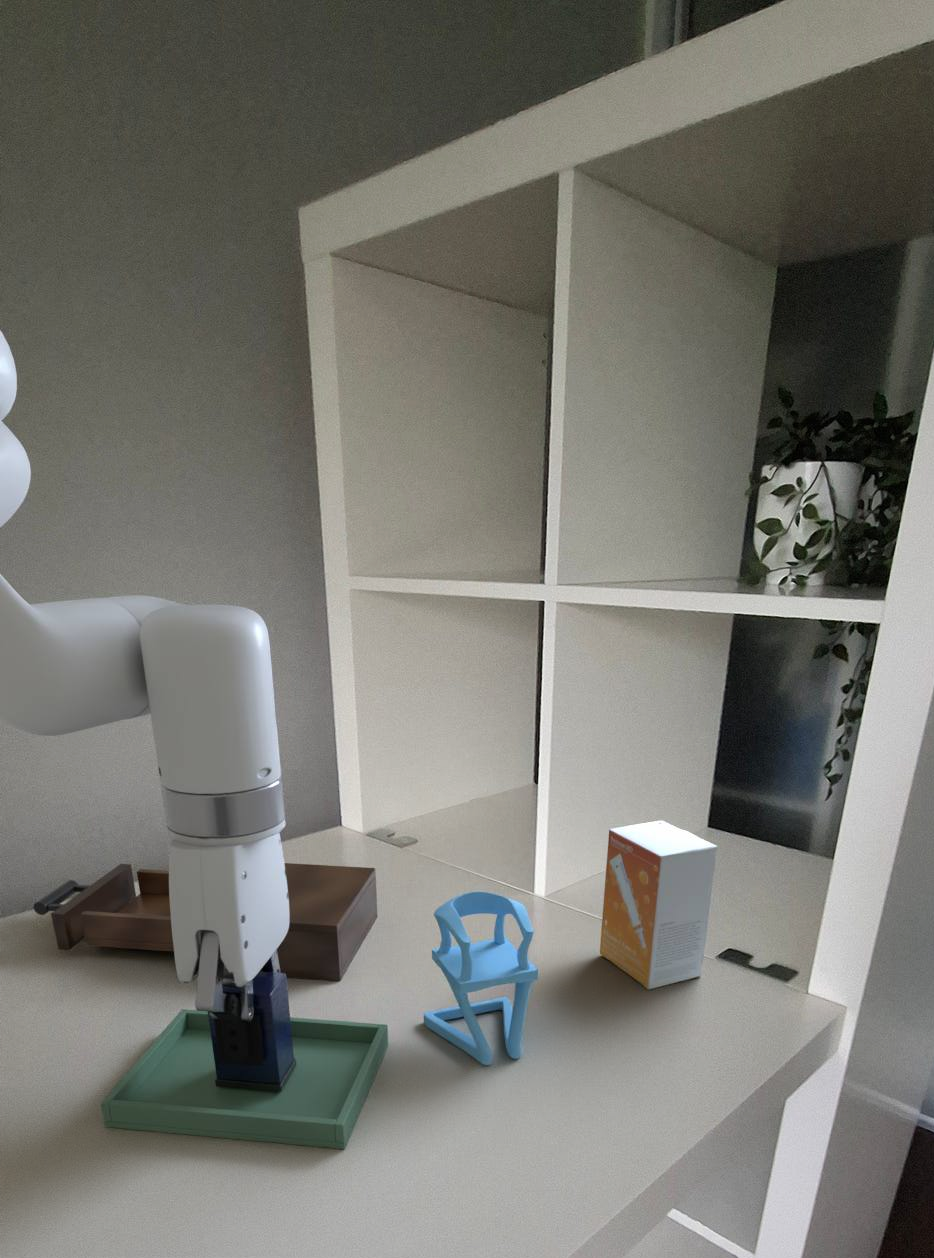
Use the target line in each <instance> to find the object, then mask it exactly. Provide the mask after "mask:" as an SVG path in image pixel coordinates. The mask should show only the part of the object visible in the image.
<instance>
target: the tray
mask: <svg viewBox="0 0 934 1258" xmlns="http://www.w3.org/2000/svg"><path fill="white" fill-rule="evenodd" d="M290 1021H291V1032H292V1042H293V1053H294V1059H296V1064H297V1065H296V1067H295V1069H294V1070H293V1072H292V1074H291V1076H290V1077H289V1079H288V1081H287V1083H286V1084H285V1086H284V1088H283V1090H282V1091H281V1092H275V1091H263V1090H251V1089H240V1088H228V1087H216V1084H215V1079H216V1078H217V1076H216V1068H215V1061H214V1054H213V1047H212V1039H211V1032H210V1025H209V1018H208V1011H198V1010H196V1009H187V1008H182V1009H181V1010H180V1011H179V1012H178V1013H177V1015H175V1017H173V1019H172V1020H171V1021H170V1022H169V1024H167V1026H166V1027H165V1028H164V1029H163V1031H162V1032H161V1033H160V1034H159V1035H158V1036H157V1037H156V1039H155V1040H154V1041H153V1042H152V1043H151V1045H150V1046H149V1047H148V1048H147V1049H146V1050H145V1051H144V1053H143V1054H142V1055H141V1056H140V1057H139V1058H138V1059H137V1061H136V1062H135V1063H134V1064H133V1065H132V1066H131V1068H130V1069H129V1070H128V1071H127V1072H126V1073H125V1075H124V1076H123V1077H122V1078H121V1079H120V1080H119V1081H118V1083H116V1085H115V1086H114V1087H113V1088H112V1089H111V1091H110V1092H109V1093H108V1094H107V1095H106V1096H105V1097H104V1099H103V1100H102V1101H101V1102H100V1108H101V1113H102V1119H103V1123H104V1127H105V1128H113V1127H114V1129H124V1128H125V1130H136V1131H145V1132H157V1133H166V1134H167V1133H169V1134H179V1135H189V1136H200V1137H210V1138H222V1139H232V1140H243V1141H253V1142H264V1143H274V1144H284V1145H285V1144H286V1145H297V1146H306V1147H317V1148H327V1149H328V1148H330V1149H340V1150H345V1149H346V1147H347V1144H348V1142H349V1140H350V1137H351V1135H352V1133H353V1130H354V1128H355V1126H356V1123H357V1120H358V1118H359V1116H360V1114H361V1112H362V1109H363V1106H364V1104H365V1102H366V1100H367V1098H368V1095H369V1092H370V1090H371V1087H372V1085H373V1083H374V1081H375V1078H376V1076H377V1073H378V1071H379V1069H380V1066H381V1063H382V1062H383V1059H384V1057H385V1055H386V1052H387V1049H388V1047H389V1032H388V1024H383V1023H371V1022H359V1021H344V1020H334V1019H333V1020H330V1019H317V1018H306V1017H292V1016H290ZM115 1127H116V1128H115Z"/></svg>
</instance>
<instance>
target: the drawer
mask: <svg viewBox="0 0 934 1258" xmlns="http://www.w3.org/2000/svg"><path fill="white" fill-rule="evenodd" d="M136 877H137V882H138V883H137V884H138V888H139V894H138V895H137V893H136V887H135V881H134V874H133V869H132V864H130V863H120V864H118V865H116V867H114V868H113V869H111V870H110V871H108V872H107V873H106V874H104V875H103V876H101V877H100V878H99V879H98V880H96V881H95V882H93V883H91V884H90V885H88V884H87V885H86V884H79V883H78V882H77V881H75V880H74V879H70V880H67V881H65V882H64V883H63V884H61V885H60V886H58V887H57V888H55V889H54V890H52V891H51V892H49V893H48V894H46V895H45V896H43V897H42V898H40V899H39V900H37V901H36V902H35V903H34V904H33V907H32V908H33V910H34V912H35V913H36V914H37V915H39V916H44V915H46V914H47V913H50V912H51V913H50V916H51V921H52V926H53V930H54V935H55V941H56V945H57V949H58V950H59V951H71V950H72V949H74V948H75V947H76V946H77V945H79V944H80V943H81V942H82V941H85V945H86V946H89V947H103V948H115V949H116V948H118V949H131V950H133V949H134V950H148V951H161V952H162V951H163V952H174V947H173V937H172V926H171V913H170V899H169V870H163V869H162V870H160V869H145V868H140V869H138V870H137V871H136ZM76 893H78V894H76ZM74 894H76V895H75V896H74V897H72V896H73V895H74ZM70 897H72V898H71V899H69V900H68V898H70ZM66 900H68V901H67V902H65V903H64V904H63V902H64V901H66Z"/></svg>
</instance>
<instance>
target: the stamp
mask: <svg viewBox="0 0 934 1258" xmlns="http://www.w3.org/2000/svg"><path fill="white" fill-rule="evenodd" d="M224 972H225V973H232V972H228V970H227V969H224ZM287 980H288V979H287V977H286V973H277V972H262V971H259V972H258V974H257V975H256V976H255V977H254V978H253V998H254V1013H256V1014H260V1020H261V1029H262V1038H263V1047H264V1056H265V1059H264V1061H263V1062H262V1064H261V1065H259V1066H255V1065H243V1064H230V1063H223V1062H221V1061H220V1059H219V1054H218V1046H217V1039H216V1031H215V1024H214V1018H211V1017H210V1012H209V1011H208V1018H209V1025H210V1032H211V1039H212V1047H213V1054H214V1061H215V1068H216V1076H217V1078H216V1079H215V1084H216V1087H228V1088H240V1089H251V1090H263V1091H275V1092H281V1091H282V1090H283V1088H284V1086H285V1084H286V1083H287V1081H288V1079H289V1077H290V1076H291V1074H292V1072H293V1070H294V1069H295V1067H296V1065H297V1064H296V1059H294V1053H293V1042H292V1032H291V1021H290V1017H291V1012H290V1003H289V1001H290V1000H289V994H288V993H289V991H288V981H287ZM222 988H223V993H224V994H233V995H235V996H236V997H237V998H239V999H240V997H239V987H228V986H222Z"/></svg>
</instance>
